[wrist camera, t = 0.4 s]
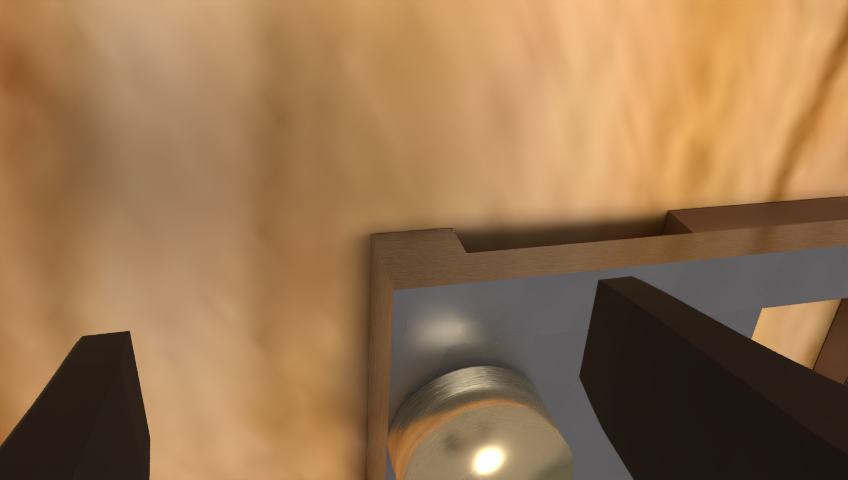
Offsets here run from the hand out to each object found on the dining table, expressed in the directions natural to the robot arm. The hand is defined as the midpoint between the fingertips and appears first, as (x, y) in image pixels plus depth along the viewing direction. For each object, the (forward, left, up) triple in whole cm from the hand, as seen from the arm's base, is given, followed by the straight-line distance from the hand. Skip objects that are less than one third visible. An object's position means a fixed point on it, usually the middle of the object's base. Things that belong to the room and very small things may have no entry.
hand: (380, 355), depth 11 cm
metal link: (-9, -12, -10) cm, 18 cm away
